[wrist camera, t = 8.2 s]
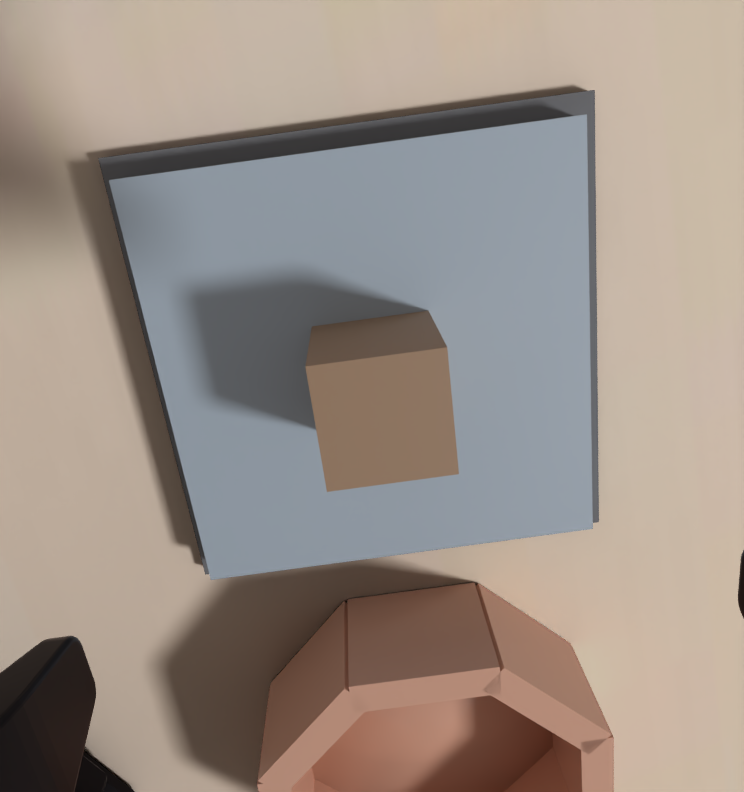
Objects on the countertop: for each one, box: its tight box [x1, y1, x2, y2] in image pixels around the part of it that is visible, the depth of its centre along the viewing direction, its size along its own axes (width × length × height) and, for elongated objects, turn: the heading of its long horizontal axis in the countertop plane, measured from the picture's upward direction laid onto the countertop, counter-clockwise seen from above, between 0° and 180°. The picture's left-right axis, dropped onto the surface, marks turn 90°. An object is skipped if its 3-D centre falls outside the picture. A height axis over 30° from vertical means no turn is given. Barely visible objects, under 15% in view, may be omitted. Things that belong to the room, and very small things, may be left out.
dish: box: [257, 583, 614, 792], centre depth 23 cm, size 11×11×4 cm
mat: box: [98, 90, 599, 574], centre depth 20 cm, size 13×13×1 cm
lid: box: [109, 114, 593, 580], centre depth 18 cm, size 12×12×4 cm
